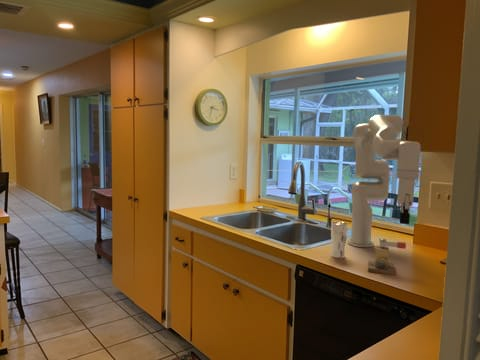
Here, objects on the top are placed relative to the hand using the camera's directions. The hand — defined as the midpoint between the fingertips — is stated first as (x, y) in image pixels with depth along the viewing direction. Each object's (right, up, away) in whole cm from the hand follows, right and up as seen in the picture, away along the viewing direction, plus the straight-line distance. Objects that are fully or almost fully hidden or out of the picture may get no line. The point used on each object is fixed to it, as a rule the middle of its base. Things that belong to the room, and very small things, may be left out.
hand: (404, 222), depth 147 cm
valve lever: (-1, -11, +8) cm, 14 cm away
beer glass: (-18, -18, +28) cm, 38 cm away
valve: (-5, -20, +11) cm, 23 cm away
